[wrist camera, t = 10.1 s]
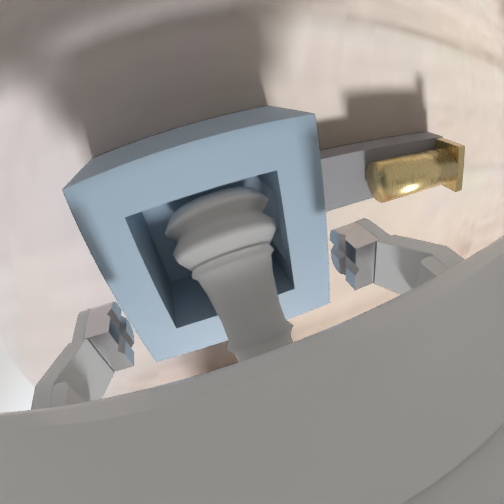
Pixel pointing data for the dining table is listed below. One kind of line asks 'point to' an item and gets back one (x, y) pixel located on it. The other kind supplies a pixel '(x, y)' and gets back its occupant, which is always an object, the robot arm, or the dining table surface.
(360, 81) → the dining table surface
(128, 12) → the dining table surface
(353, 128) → the dining table surface
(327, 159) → the mount
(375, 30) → the dining table surface
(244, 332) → the rook chess piece
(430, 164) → the lock pin
